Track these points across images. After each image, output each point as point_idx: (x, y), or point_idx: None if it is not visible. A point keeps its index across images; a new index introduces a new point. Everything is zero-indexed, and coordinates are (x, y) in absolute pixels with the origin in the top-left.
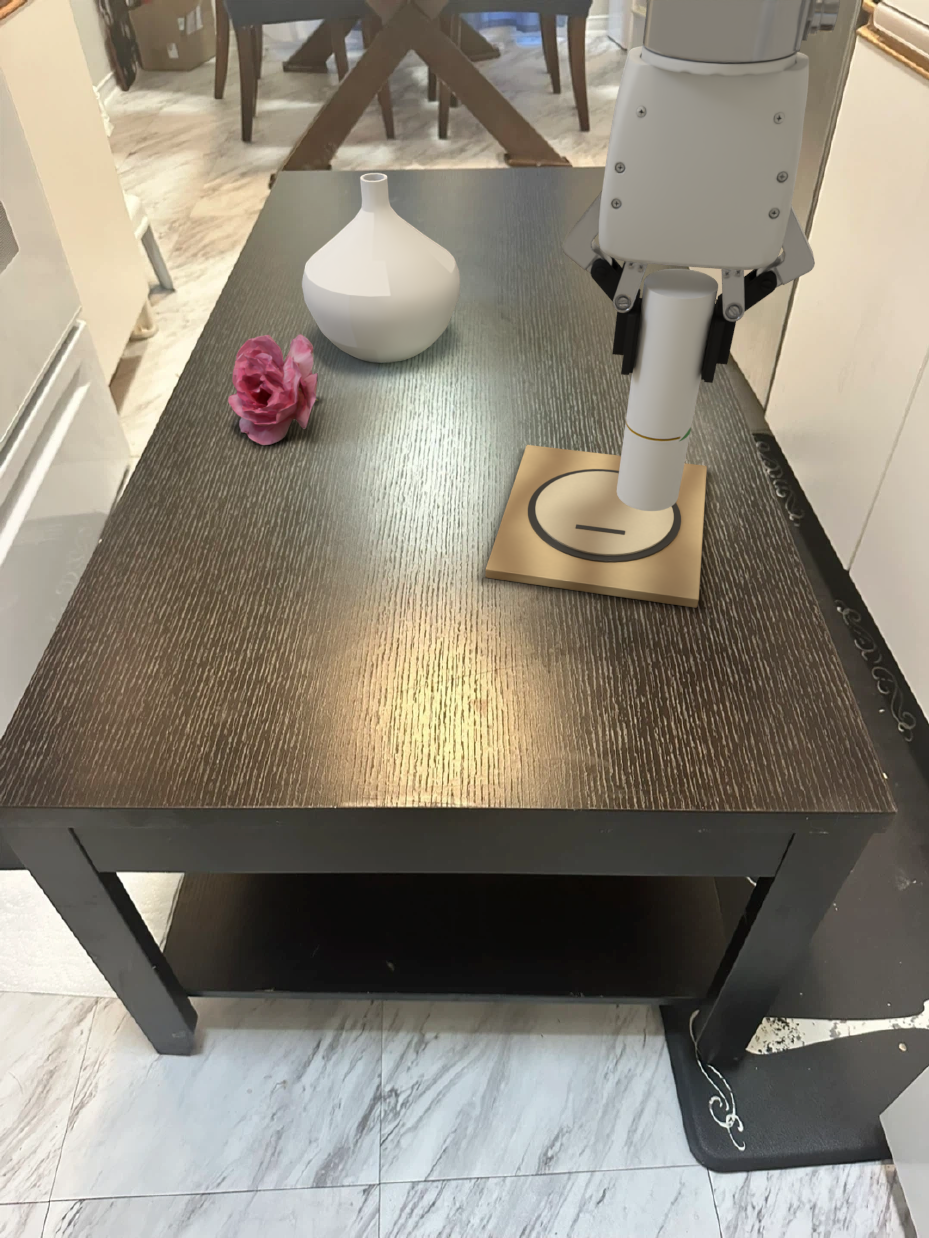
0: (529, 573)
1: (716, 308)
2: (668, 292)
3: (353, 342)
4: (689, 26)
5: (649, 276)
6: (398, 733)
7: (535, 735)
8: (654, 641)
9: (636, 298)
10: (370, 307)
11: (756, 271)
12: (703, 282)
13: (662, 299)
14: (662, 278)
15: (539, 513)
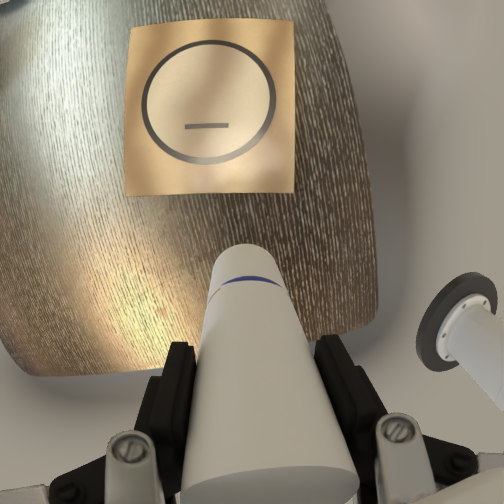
0: (158, 193)
1: (349, 449)
2: None
3: (1, 2)
4: None
5: (187, 496)
6: (128, 336)
7: (198, 326)
8: (262, 234)
9: (177, 492)
10: None
11: (440, 483)
12: (327, 492)
13: None
14: (222, 502)
15: (151, 117)
